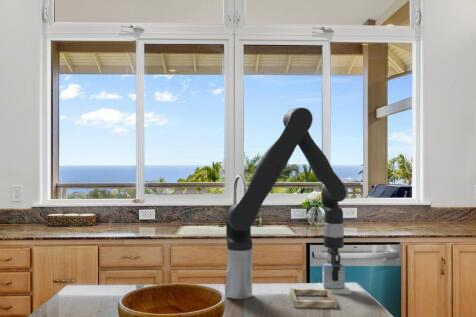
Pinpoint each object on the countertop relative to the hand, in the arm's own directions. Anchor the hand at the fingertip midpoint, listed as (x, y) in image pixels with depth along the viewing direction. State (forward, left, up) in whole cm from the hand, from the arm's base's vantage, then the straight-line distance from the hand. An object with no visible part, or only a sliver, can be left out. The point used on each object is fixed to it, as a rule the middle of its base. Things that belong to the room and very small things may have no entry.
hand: (333, 278), depth 160 cm
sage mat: (0, 0, -4) cm, 4 cm away
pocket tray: (-10, -14, -4) cm, 18 cm away
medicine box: (0, 0, -4) cm, 4 cm away
